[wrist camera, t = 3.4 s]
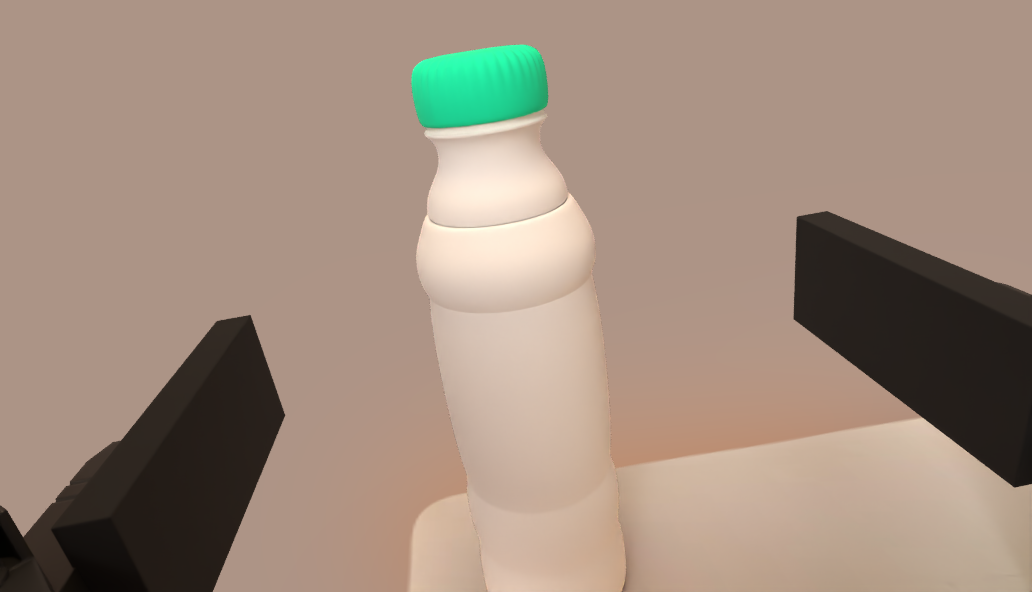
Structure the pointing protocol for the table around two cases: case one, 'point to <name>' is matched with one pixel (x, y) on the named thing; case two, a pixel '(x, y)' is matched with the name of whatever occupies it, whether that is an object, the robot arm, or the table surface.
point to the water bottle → (517, 328)
